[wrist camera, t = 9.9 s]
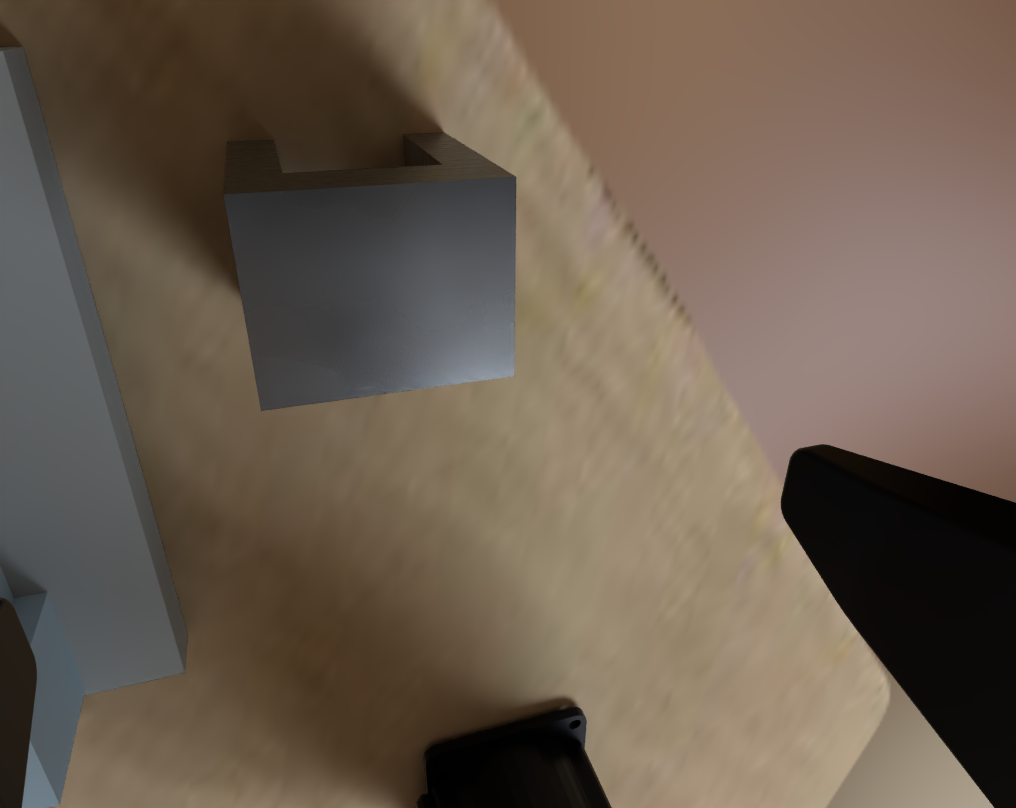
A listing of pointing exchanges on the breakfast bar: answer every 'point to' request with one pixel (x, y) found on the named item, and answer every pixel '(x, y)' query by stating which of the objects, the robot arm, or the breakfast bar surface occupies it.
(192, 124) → the breakfast bar surface
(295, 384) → the dark grey block
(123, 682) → the vise
